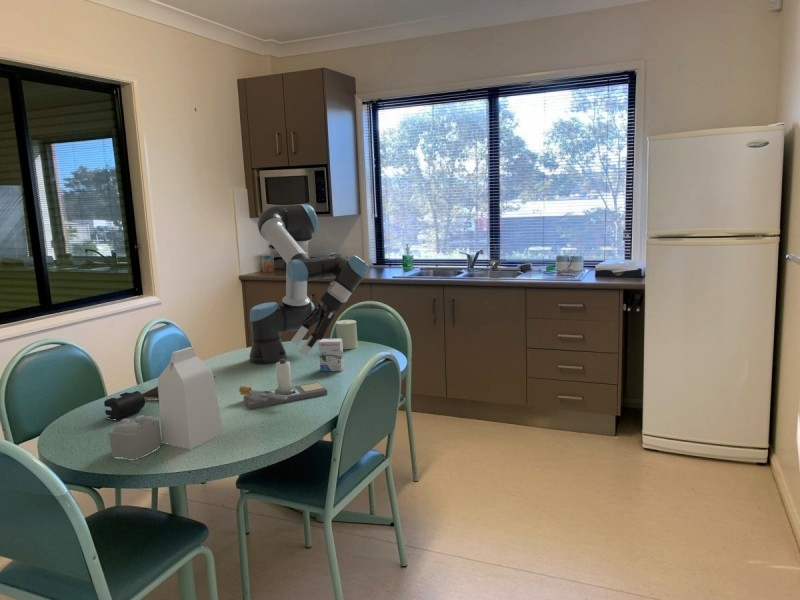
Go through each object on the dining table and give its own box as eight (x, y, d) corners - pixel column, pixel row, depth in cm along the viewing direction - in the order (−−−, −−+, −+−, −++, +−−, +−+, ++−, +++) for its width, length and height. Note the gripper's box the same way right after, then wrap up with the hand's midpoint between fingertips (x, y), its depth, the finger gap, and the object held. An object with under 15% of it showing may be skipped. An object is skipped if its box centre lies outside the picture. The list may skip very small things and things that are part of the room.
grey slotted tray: (243, 400, 199) (243, 392, 199) (318, 386, 210) (317, 378, 209) (249, 409, 190) (249, 400, 190) (327, 394, 201) (326, 386, 200)
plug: (273, 396, 202) (270, 358, 199) (293, 392, 204) (289, 355, 202) (278, 402, 195) (274, 363, 193) (298, 398, 198) (295, 360, 196)
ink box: (319, 371, 227) (317, 342, 225) (322, 368, 232) (320, 338, 230) (342, 371, 227) (339, 341, 225) (344, 367, 232) (342, 338, 229)
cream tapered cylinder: (334, 350, 259) (332, 323, 257) (340, 344, 268) (338, 318, 266) (355, 350, 257) (353, 323, 255) (360, 344, 266) (358, 318, 264)
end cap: (121, 422, 185) (118, 401, 183) (105, 420, 187) (102, 399, 186) (146, 411, 193) (144, 391, 192) (131, 409, 196) (128, 389, 195)
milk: (190, 450, 161) (179, 357, 156) (162, 443, 166) (150, 353, 162) (223, 433, 171) (214, 346, 167) (195, 427, 177) (185, 343, 172)
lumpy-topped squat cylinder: (106, 457, 159) (102, 427, 157) (141, 438, 171) (137, 409, 169) (137, 461, 155) (133, 430, 154) (171, 441, 167) (167, 412, 166)
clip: (243, 392, 200) (243, 384, 200) (289, 399, 190) (289, 392, 190) (237, 395, 198) (236, 387, 197) (283, 403, 188) (282, 395, 187)
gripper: (317, 284, 211) (282, 333, 209) (336, 297, 188) (296, 352, 187) (334, 296, 214) (299, 344, 212) (354, 310, 191) (315, 364, 190)
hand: (298, 348), depth 200 cm, fingers open, 13 cm apart
